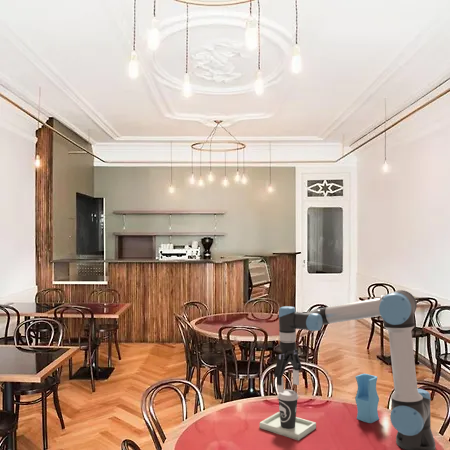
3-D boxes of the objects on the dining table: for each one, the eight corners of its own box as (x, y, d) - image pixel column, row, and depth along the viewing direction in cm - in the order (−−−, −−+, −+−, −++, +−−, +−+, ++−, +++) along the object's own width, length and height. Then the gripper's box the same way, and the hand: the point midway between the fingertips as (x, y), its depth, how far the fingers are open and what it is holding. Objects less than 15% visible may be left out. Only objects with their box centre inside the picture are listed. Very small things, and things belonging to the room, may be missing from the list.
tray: (316, 428, 204) (316, 422, 204) (298, 440, 191) (298, 434, 191) (278, 417, 216) (278, 411, 216) (259, 428, 204) (259, 422, 204)
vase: (355, 418, 215) (355, 376, 215) (364, 414, 220) (364, 373, 221) (370, 423, 209) (370, 380, 209) (379, 419, 214) (378, 376, 215)
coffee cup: (298, 431, 198) (298, 396, 199) (276, 429, 200) (276, 395, 201) (299, 422, 208) (298, 389, 208) (278, 420, 209) (278, 388, 210)
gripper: (294, 335, 217) (295, 379, 216) (265, 345, 198) (266, 393, 197) (308, 337, 212) (309, 382, 211) (280, 347, 193) (281, 397, 192)
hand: (288, 388), depth 204 cm, fingers open, 13 cm apart
